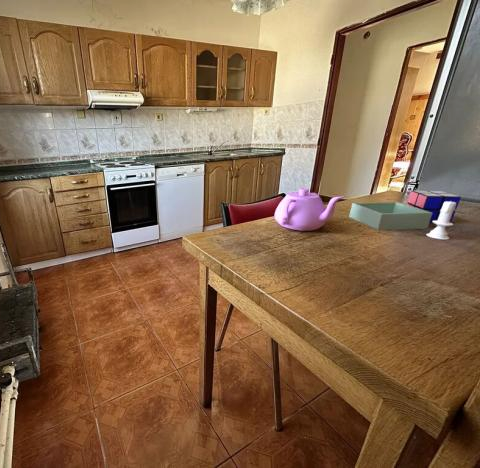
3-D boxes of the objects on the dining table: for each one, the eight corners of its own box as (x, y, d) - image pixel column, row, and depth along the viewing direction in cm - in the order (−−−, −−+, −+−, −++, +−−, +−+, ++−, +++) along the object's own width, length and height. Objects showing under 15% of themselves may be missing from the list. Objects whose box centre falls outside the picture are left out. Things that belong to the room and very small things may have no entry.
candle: (448, 241, 79) (463, 203, 75) (425, 236, 83) (438, 200, 79) (449, 236, 83) (464, 200, 78) (426, 232, 86) (439, 197, 82)
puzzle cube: (418, 222, 96) (427, 195, 92) (402, 214, 105) (410, 190, 101) (451, 223, 94) (462, 196, 90) (432, 215, 103) (441, 190, 99)
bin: (391, 215, 104) (395, 201, 102) (427, 228, 90) (432, 212, 87) (349, 217, 104) (352, 203, 102) (377, 229, 90) (382, 214, 88)
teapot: (317, 243, 80) (326, 200, 75) (260, 225, 97) (264, 189, 92) (350, 228, 91) (360, 190, 86) (293, 215, 108) (299, 182, 103)
